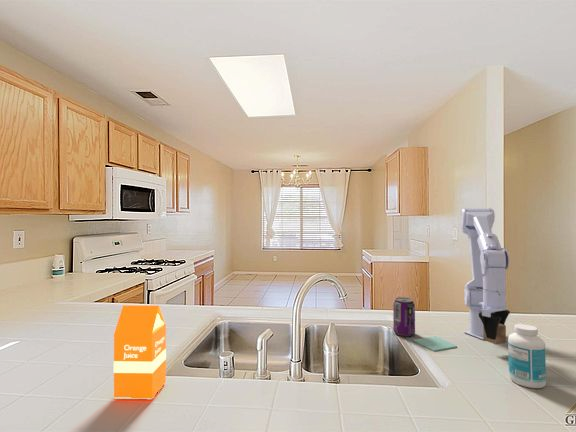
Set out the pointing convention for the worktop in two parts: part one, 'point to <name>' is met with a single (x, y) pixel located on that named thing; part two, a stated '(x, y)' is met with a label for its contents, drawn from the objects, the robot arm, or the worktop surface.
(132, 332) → the orange juice
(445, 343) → the teal coaster
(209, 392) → the worktop surface
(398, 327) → the beverage can
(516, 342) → the pill bottle
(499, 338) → the walnut block
